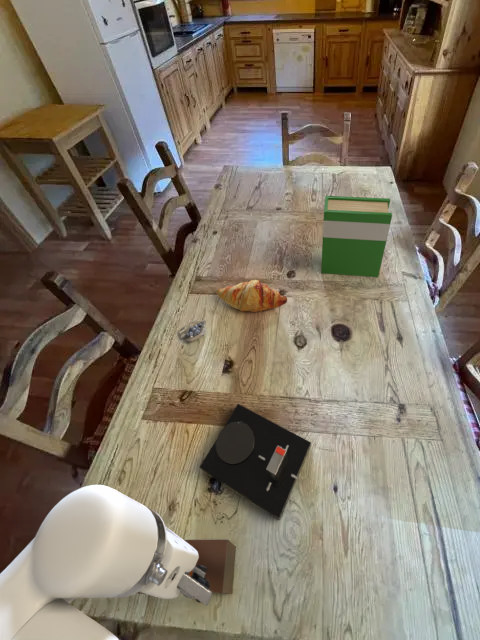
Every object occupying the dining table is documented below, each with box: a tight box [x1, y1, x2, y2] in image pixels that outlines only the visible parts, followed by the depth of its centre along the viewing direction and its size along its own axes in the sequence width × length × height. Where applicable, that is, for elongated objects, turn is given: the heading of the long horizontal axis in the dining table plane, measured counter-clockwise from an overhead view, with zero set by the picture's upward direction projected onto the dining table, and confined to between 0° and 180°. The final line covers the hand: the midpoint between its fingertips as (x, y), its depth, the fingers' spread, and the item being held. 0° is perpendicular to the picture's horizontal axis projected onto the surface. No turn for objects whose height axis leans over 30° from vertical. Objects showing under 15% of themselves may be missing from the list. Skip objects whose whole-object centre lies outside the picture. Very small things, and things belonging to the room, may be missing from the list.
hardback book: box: [320, 195, 393, 278], centre depth 100 cm, size 18×7×24 cm, turn 83°
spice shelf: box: [135, 538, 237, 595], centre depth 55 cm, size 6×14×10 cm, turn 90°
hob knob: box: [266, 446, 288, 481], centre depth 65 cm, size 4×2×5 cm, turn 153°
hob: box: [199, 403, 312, 521], centre depth 70 cm, size 14×18×3 cm
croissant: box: [216, 279, 288, 313], centre depth 98 cm, size 21×10×8 cm, turn 80°
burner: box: [215, 422, 255, 464], centre depth 70 cm, size 8×8×1 cm
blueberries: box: [178, 319, 207, 344], centre depth 93 cm, size 7×8×2 cm
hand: (172, 560), depth 49 cm, fingers open, 9 cm apart
